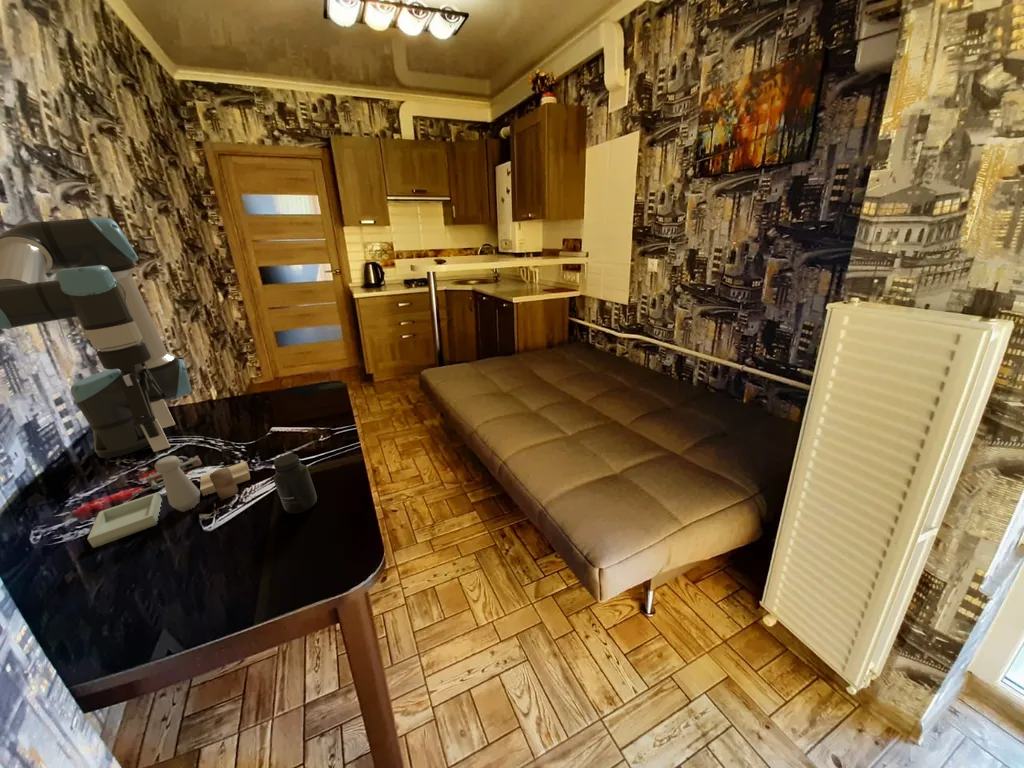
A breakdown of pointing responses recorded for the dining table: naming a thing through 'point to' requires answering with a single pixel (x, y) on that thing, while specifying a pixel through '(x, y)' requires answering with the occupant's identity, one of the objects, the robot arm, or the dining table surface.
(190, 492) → the salt shaker
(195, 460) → the clamp
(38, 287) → the robot arm
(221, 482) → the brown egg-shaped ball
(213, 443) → the dining table surface
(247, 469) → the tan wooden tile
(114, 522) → the tray
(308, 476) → the supplement bottle
